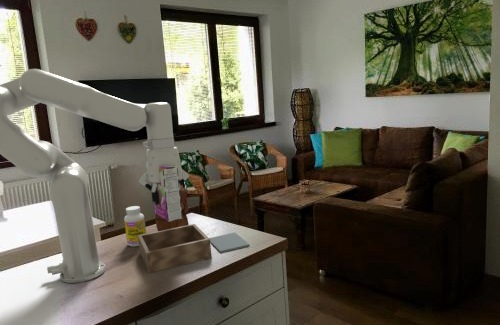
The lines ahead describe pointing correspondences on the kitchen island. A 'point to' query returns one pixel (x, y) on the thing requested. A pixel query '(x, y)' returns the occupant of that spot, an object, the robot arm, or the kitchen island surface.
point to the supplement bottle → (134, 225)
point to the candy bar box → (168, 194)
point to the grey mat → (228, 242)
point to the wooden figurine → (165, 225)
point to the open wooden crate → (174, 247)
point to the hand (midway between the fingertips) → (166, 201)
